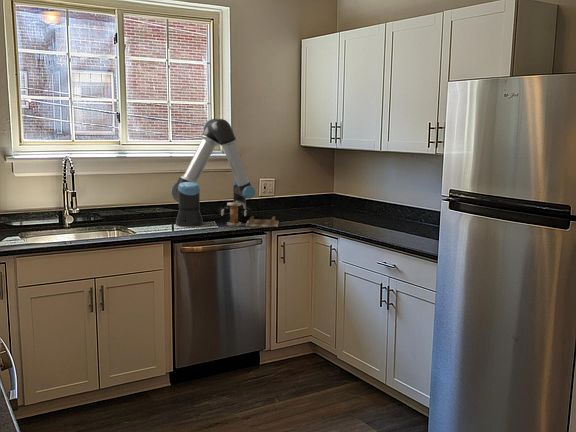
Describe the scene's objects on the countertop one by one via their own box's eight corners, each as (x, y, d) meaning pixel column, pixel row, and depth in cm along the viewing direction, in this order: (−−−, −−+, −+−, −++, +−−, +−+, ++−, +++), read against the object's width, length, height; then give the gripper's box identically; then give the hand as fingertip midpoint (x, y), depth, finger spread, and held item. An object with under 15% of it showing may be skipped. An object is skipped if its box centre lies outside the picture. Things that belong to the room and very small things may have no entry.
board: (245, 226, 333) (245, 219, 333) (247, 222, 347) (247, 215, 347) (277, 226, 333) (277, 220, 332) (278, 222, 347) (278, 216, 346)
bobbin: (230, 226, 333) (230, 204, 331) (224, 224, 340) (224, 202, 338) (243, 225, 337) (243, 203, 335) (237, 223, 344) (237, 201, 342)
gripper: (258, 214, 355) (255, 220, 334) (217, 213, 356) (211, 219, 335) (258, 202, 354) (255, 207, 333) (217, 201, 355) (211, 206, 333)
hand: (233, 213), depth 334 cm, fingers open, 12 cm apart
